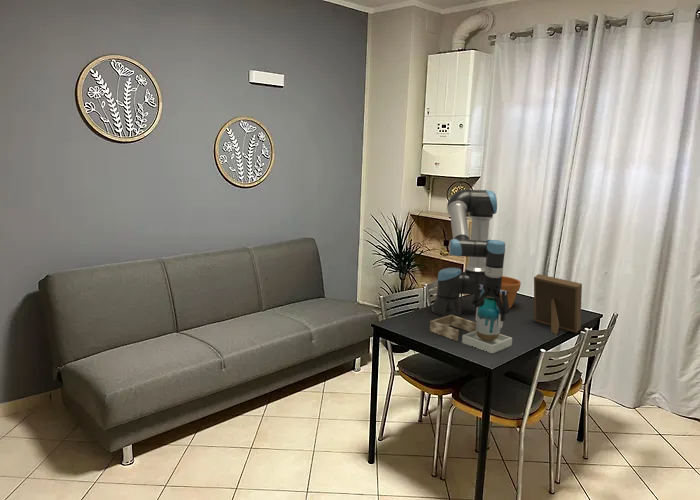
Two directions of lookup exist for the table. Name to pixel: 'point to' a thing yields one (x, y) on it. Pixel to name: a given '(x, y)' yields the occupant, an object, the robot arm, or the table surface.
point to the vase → (488, 320)
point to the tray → (487, 342)
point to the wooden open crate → (443, 325)
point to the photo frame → (557, 303)
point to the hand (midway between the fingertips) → (488, 324)
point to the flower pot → (510, 288)
